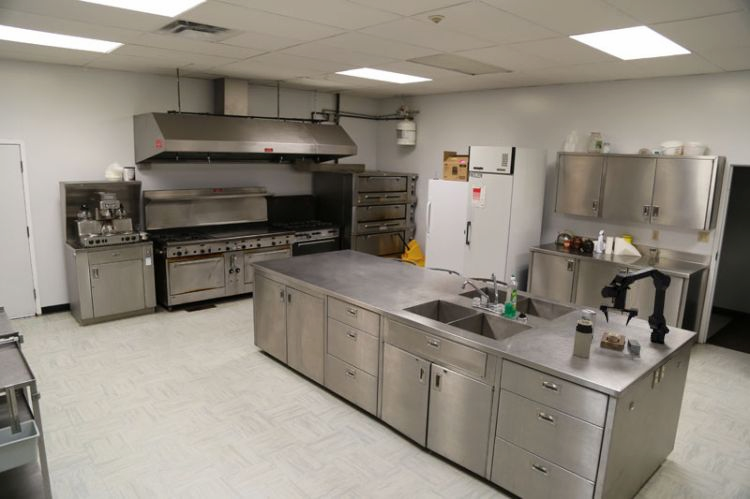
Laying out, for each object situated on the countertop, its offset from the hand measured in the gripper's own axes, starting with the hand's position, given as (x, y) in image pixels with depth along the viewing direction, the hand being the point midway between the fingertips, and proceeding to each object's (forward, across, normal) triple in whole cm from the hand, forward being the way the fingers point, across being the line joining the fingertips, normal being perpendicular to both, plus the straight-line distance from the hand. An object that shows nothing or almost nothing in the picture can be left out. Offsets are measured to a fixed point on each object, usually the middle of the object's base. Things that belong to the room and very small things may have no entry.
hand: (616, 324), depth 269 cm
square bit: (+12, +1, +2) cm, 12 cm away
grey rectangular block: (+12, -10, +5) cm, 16 cm away
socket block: (+12, +1, -1) cm, 12 cm away
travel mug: (+12, +14, +27) cm, 32 cm away
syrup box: (+12, +15, -6) cm, 20 cm away
